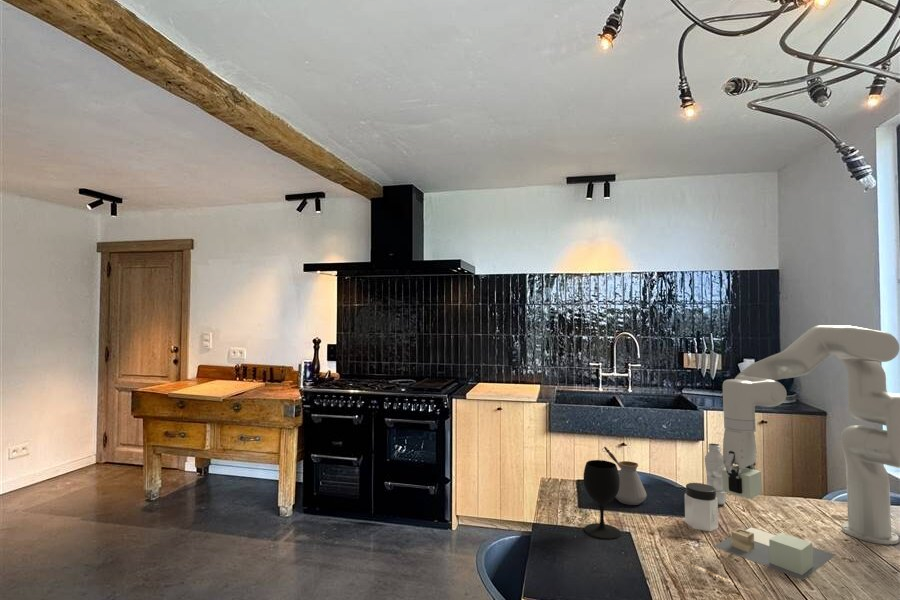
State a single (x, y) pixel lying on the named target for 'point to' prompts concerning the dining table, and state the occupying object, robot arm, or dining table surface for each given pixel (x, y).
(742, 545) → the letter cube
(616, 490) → the wine glass
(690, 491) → the jar
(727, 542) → the slate mat
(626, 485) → the coffee pot
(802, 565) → the cover
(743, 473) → the cover
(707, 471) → the plastic bottle
